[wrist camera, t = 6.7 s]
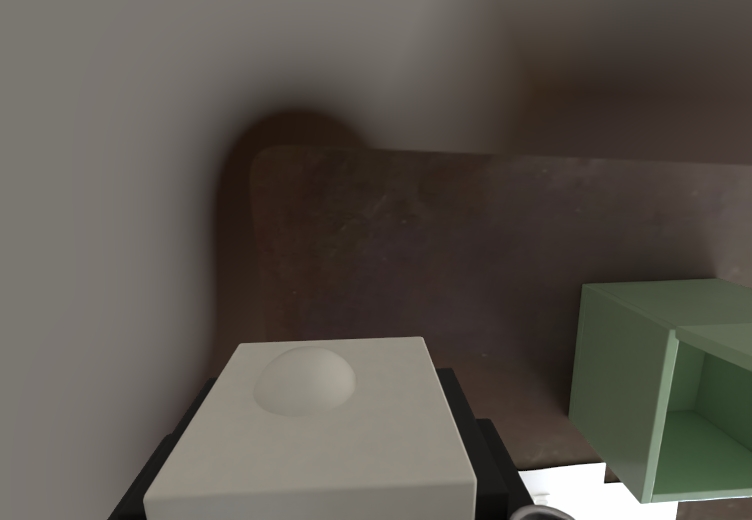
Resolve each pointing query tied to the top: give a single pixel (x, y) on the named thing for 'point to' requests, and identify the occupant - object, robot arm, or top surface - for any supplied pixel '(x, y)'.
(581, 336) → the trashcan
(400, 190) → the top surface
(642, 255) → the top surface
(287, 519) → the white cube with domes
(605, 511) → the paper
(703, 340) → the bin lid
